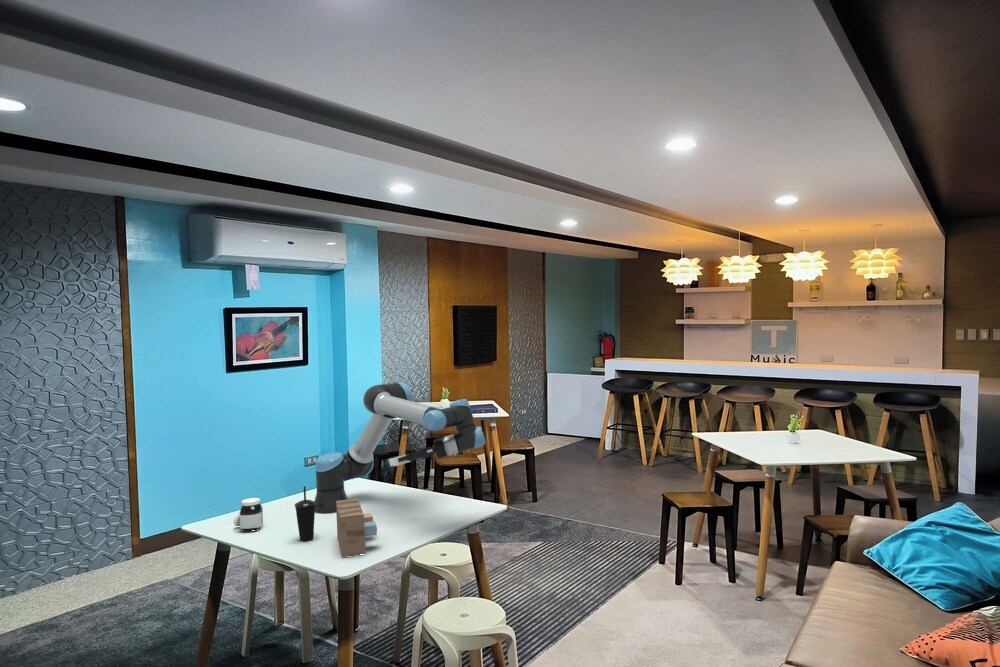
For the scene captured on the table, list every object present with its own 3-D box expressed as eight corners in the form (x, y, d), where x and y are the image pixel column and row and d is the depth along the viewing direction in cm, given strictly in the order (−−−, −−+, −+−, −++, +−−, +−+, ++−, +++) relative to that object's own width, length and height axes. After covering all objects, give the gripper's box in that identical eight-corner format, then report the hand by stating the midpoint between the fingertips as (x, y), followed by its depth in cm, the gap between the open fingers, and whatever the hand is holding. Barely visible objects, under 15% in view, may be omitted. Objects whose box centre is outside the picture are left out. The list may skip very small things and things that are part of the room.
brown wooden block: (337, 538, 240) (335, 501, 240) (359, 535, 242) (357, 498, 242) (341, 557, 219) (339, 517, 219) (365, 554, 221) (363, 514, 221)
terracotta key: (355, 524, 239) (354, 514, 239) (372, 522, 241) (371, 512, 241) (356, 528, 234) (356, 518, 234) (373, 525, 236) (373, 516, 236)
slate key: (358, 533, 228) (357, 523, 228) (375, 530, 230) (375, 521, 230) (359, 537, 224) (359, 527, 224) (377, 535, 226) (377, 525, 225)
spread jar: (257, 532, 250) (256, 503, 250) (228, 534, 249) (227, 504, 249) (267, 523, 262) (265, 495, 262) (238, 524, 261) (237, 496, 261)
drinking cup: (297, 544, 234) (294, 490, 234) (294, 538, 241) (292, 485, 241) (318, 541, 237) (316, 487, 237) (315, 535, 244) (313, 483, 244)
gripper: (447, 455, 233) (390, 472, 231) (448, 456, 258) (397, 472, 256) (441, 435, 235) (385, 452, 233) (443, 438, 259) (392, 454, 257)
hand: (391, 463), depth 244 cm, fingers open, 13 cm apart
